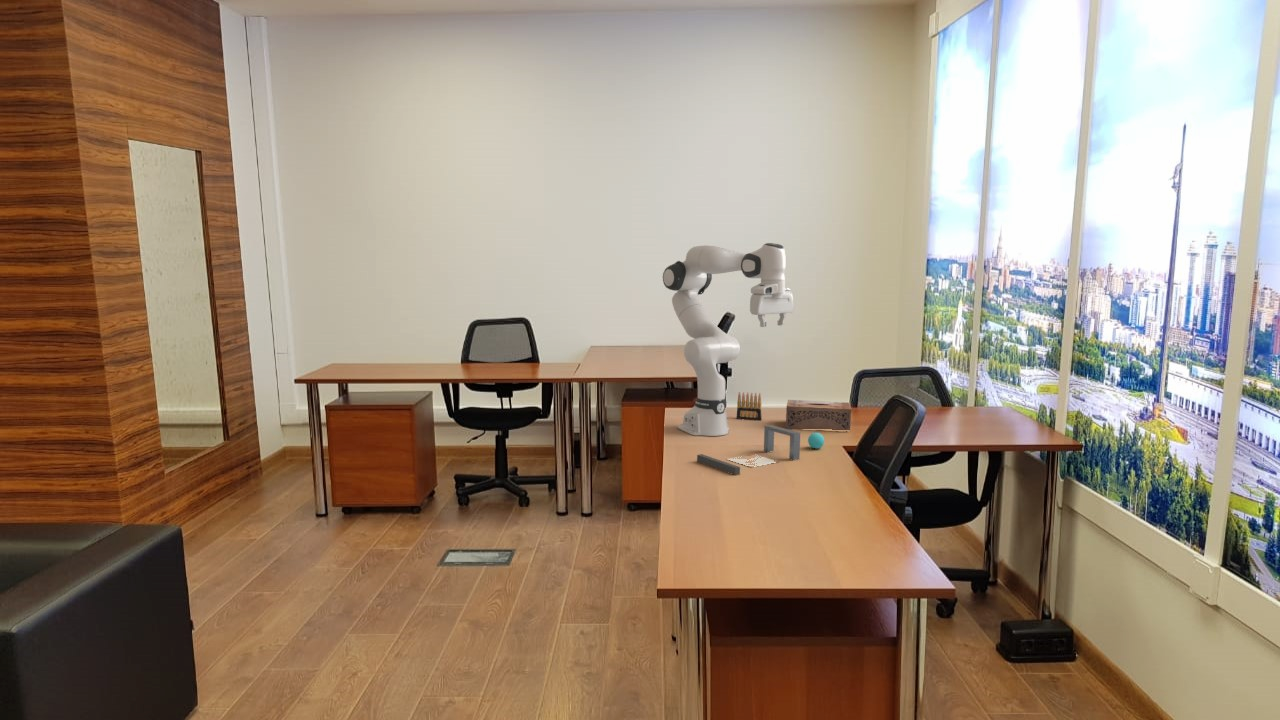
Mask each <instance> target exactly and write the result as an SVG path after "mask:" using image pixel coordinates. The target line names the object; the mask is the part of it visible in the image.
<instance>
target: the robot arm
mask: <svg viewBox="0 0 1280 720" xmlns="http://www.w3.org/2000/svg"><path fill="white" fill-rule="evenodd" d="M786 267H787V257H786V248H785V247H784V246H783V245H781V244H779V243H773V242H767V243H764V244H763V245H761V247H760V248H758V249H757V250H754V251H752V252H748V253H743V252H739V251H735V250H731V249H727V248H723V247H721V246H720V247H719V246H716V245H698V246H693V247H691V248H690V249H689V250H687V253H686V255H685V260H684V261H680V260H677V261H675V262H674V263H672V264H670V265H668V266H667V267H666V268H665V269H664V271H663V272H662V281H663V285H664V287H665V288H666V289H668V290H670V291H676V292H674V294H673V296H672V297H671V303H672V307H673V310H674V312H675V314H676V316H677V318H678V320H679V322H680V323H681V325H682V328H683V329H684V330H685V332H686V334H687V335H688V336H689V337H690V338H692V339H690V340H688V341H687V342H686V343H685V345H684V348H683V355H684V358H685V361H687V363H688V364H689V365H691V366H692V368H693V370H694V372H695V375H696V380H697V397H694V398H693V402H694V406H693V407H691V409H689V410H688V411H687V412H685V413H684V414H683V418H682V419H683V420H682V422H683V423H680V424H678V425H677V426H676V428H677V429H679V430H681V431H682V432H685V433H687V434H689V435H691V436H705V437H709V436H710V437H716V436H717V437H718V436H724V435H725V436H726V435H728V434H729V433H730V432H729V431H730V427H729V425H728V423H729V422H728V414H727V410H726V408H727V398H726V379H725V376H723V375H722V374H720V373H719V372H718V369H717V364H725V363H729V362H732V361H733V360H736V359H737V358H738V357H739V355H740V353H741V346H740V343H739V341H738V339H737V338H736V337H734V336H732V335H729V334H728V333H726V332H724V330H722V329H721V328H720V327H718V325H716V324H715V323H714V322H713V320H712V319H711V318H710V316H709V315H708V313H707V311H706V310H705V308H704V307H703V305H702V302H700V300H699V298H698V295H702V294H704V292H705V291H706V290H707V288H708V287H709V286H710V285H711V283H712V279H713V278H712V276H713V275H719V274H720V275H721V274H725V273H732V272H733V273H734V272H738V271H739V272H740V271H741V273H742V274H743V276H745V278H748V279H760V283H758V284H756V285H754V286H752V287H751V288H750V294H751V295H750V298H749V299H750V300H749V301H750V302H749V303H750V304H749V311H750V313H751V315H753V316H755V315H757V319H758V321H759V327H760V328H766V327H767V322H766V321H765V318H766V316H765V315H777V314H778V315H779V319H778V320H777V326H780V327H781V326H784V325H785V323H784V321H785V319H786V317H787V314H789V313H791V314H792V313H793V311H794V308H795V307H794V295H793V290H792V289H791V288H790V287H786V276H785V274H786V273H785V272H786V269H787V268H786Z"/></svg>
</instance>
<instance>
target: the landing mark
mask: <svg viewBox="0 0 1280 720" xmlns="http://www.w3.org/2000/svg"><path fill="white" fill-rule="evenodd" d="M756 455H757V456H758V454H756ZM742 456H743V455H741V457H742ZM757 456H756V457H755V458H751V459H749V460H750V461H751V460H752V461H753V460H754V459H755V460H756V459H757V458H758V457H759V456H760V457H761V455H759V456H758V457H757ZM737 457H738V458H739V457H740V456H736V457H735V456H734V457H731V458H726V459H727V460H726V461H729V460H730V462H732V461H733V462H732V463H735V462H736V463H735V464H738V463H739V464H738V465H741V464H743V465H742V466H744V465H745V466H744V467H747V466H754V465H748V464H750V463H745V462H746V461H747V462H748V461H749V460H747V459H737ZM741 457H740V458H741ZM760 457H759V458H758V459H757V460H756V461H755V460H754V461H755V462H752V463H753V464H754V463H755V466H754V468H758V467H757V466H759V467H763V466H762V465H764V466H768V465H767V464H769V465H772V464H771V463H774V464H777V463H776V462H774V459H772V458H768V457H765V456H762V457H761V458H760ZM733 458H734V459H733ZM735 458H736V459H735ZM752 463H751V464H752ZM756 463H757V464H756ZM746 464H747V465H746ZM756 465H757V466H756Z"/></svg>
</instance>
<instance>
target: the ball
mask: <svg viewBox="0 0 1280 720" xmlns="http://www.w3.org/2000/svg"><path fill="white" fill-rule="evenodd" d="M807 443H808V445H809V447H811V448H812V449H814V448H815V450H817V449H818V448H819V449H821V448H822V447H824V444H825V438H824V436H823V435H822V434H821V433H820V432H813V433H811V434H810V435H809V437H808V438H807ZM819 449H818V450H819Z"/></svg>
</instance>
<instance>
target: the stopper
mask: <svg viewBox="0 0 1280 720" xmlns="http://www.w3.org/2000/svg"><path fill="white" fill-rule="evenodd" d="M696 462H697V463H699V464H702V465H705V466H707V465H708V466H707V467H710V466H711V467H710V468H713V467H714V468H713V469H716V468H717V469H716V470H719V469H720V470H719V471H722V470H723V471H722V472H725V471H726V472H725V473H727V472H729V473H728V474H730V473H732V474H731V475H733V474H734V475H733V476H738V475H737V474H739V475H740V474H741V466H738V465H735V464H732V463H729V462H726V461H723V460H721V459H717V458H715V457H712V456H708V455H705V454H703V453H700V454H699V453H698V454H697V455H696Z"/></svg>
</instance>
